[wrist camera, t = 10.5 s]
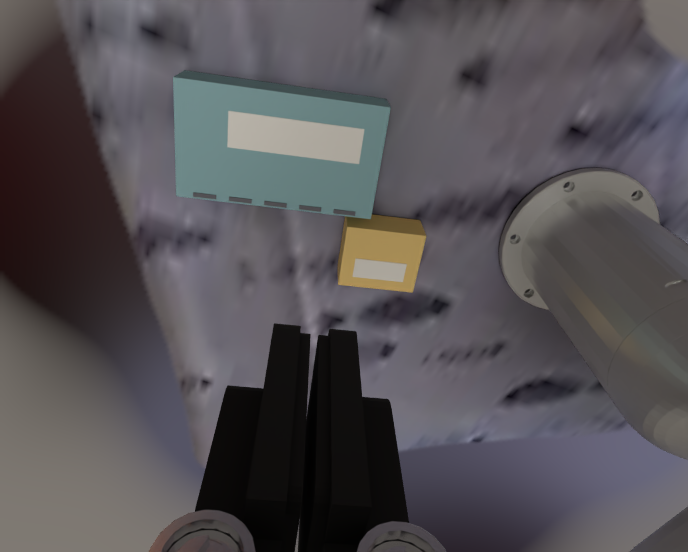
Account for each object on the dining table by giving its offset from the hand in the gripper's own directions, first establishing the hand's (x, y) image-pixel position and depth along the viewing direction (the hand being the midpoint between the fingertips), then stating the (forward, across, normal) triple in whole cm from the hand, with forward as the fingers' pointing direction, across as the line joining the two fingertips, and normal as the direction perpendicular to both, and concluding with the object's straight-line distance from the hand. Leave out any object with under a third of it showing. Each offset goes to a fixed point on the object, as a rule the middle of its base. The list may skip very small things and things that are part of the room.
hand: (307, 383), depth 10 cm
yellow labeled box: (+29, -6, +10) cm, 31 cm away
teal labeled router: (+29, +2, +3) cm, 29 cm away
